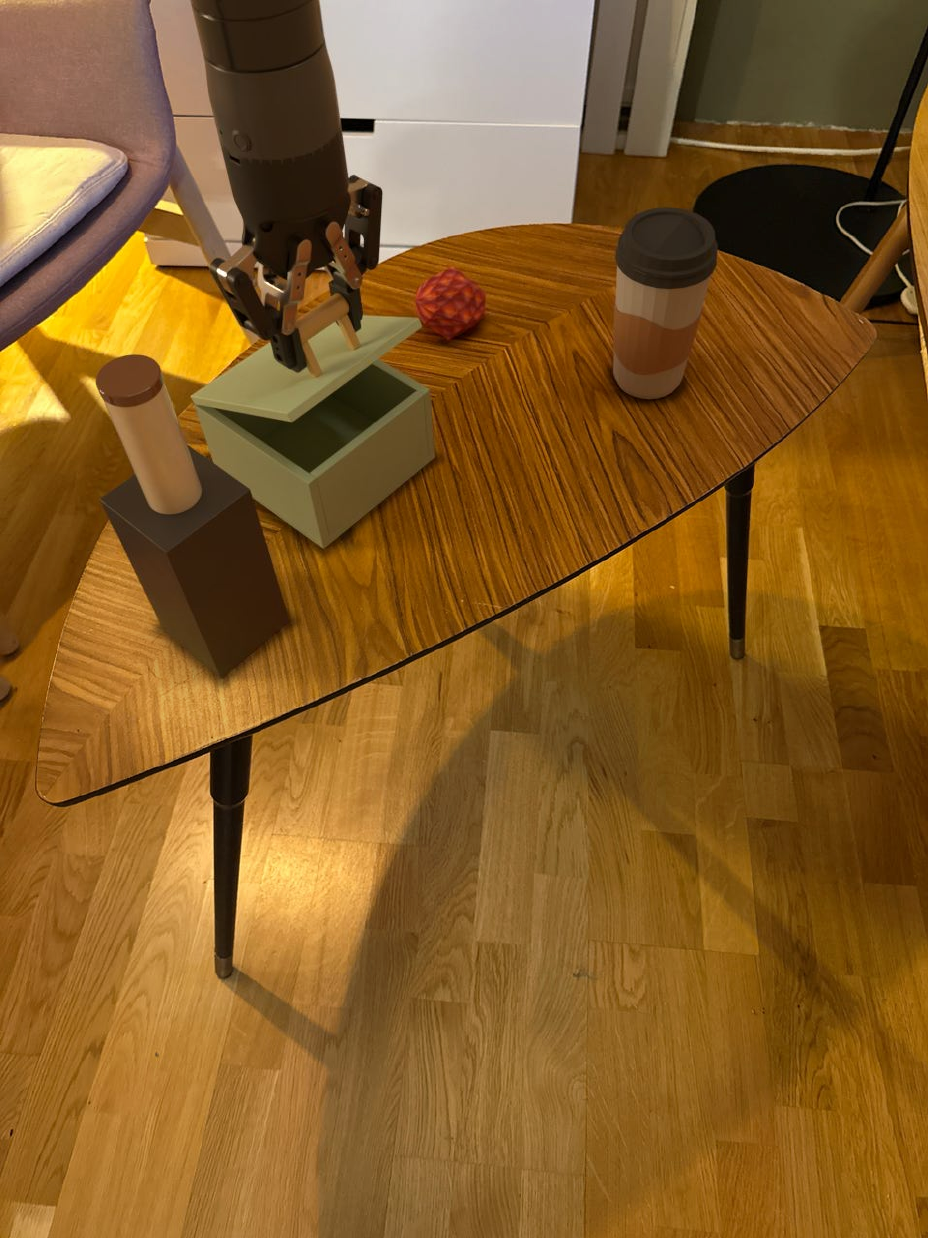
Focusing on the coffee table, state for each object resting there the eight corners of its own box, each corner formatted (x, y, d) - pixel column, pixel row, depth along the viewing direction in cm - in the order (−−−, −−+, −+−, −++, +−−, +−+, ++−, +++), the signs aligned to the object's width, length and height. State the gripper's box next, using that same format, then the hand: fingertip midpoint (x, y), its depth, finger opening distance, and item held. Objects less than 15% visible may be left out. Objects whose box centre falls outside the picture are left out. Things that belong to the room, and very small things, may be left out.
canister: (170, 524, 63) (121, 406, 55) (134, 496, 64) (81, 377, 56) (214, 491, 65) (173, 371, 56) (178, 465, 66) (133, 344, 58)
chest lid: (422, 326, 75) (398, 264, 73) (292, 422, 70) (260, 359, 67) (316, 320, 86) (291, 266, 83) (194, 404, 80) (163, 348, 77)
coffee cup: (707, 366, 92) (738, 221, 80) (668, 420, 88) (695, 276, 76) (626, 337, 95) (645, 192, 83) (585, 388, 91) (599, 244, 79)
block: (221, 679, 74) (166, 552, 62) (162, 629, 77) (98, 498, 64) (290, 621, 77) (250, 489, 65) (231, 575, 80) (182, 440, 67)
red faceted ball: (484, 354, 98) (414, 351, 93) (459, 307, 100) (390, 302, 96) (512, 303, 93) (440, 298, 89) (485, 256, 96) (414, 248, 92)
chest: (435, 457, 87) (430, 389, 80) (323, 549, 81) (308, 483, 75) (327, 389, 92) (315, 321, 86) (216, 471, 86) (193, 404, 80)
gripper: (321, 58, 65) (354, 282, 78) (146, 151, 59) (215, 375, 72) (404, 93, 62) (423, 319, 75) (228, 194, 56) (284, 420, 69)
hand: (321, 346), depth 74 cm, fingers closed on chest lid, 5 cm apart
